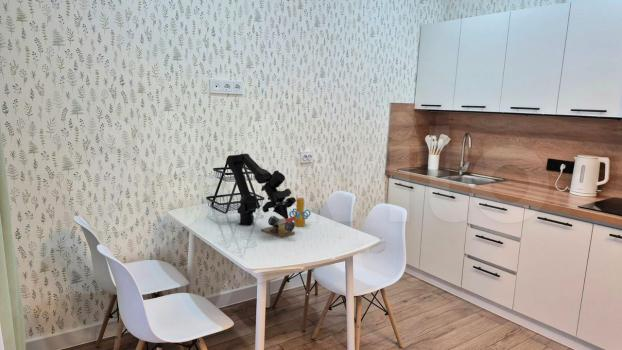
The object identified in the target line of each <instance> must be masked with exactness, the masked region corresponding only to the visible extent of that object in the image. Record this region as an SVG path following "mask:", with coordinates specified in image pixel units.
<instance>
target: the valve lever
mask: <svg viewBox="0 0 622 350" xmlns="http://www.w3.org/2000/svg"><path fill="white" fill-rule="evenodd" d="M293 216H294V215H293ZM293 216H292V217H290V216H289V217H288V219H285V221H282V222H281V221H279V222H277V225H278V226H280V225H282V224H283V223H288V222H291V221H292V222H294V220H296V218H295V216H294V217H293Z"/></svg>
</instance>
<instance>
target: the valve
mask: <svg viewBox="0 0 622 350" xmlns="http://www.w3.org/2000/svg"><path fill="white" fill-rule="evenodd" d="M279 221H281V222H282V221H285V218H284V217H283V218H280V217H277V216H274V215H271V216H269V218H268V227H264V228H261V230H260V231H261V232H263V233H266V234H268V235H269V234H270V235H272V236H275V237H278V238H281V239H285V238H287V237H291V236H294V235H295V234H296V231H295V232H294V229H295V227H296V226H295V225H294V221H291V222H288V223H283V224H282V225H280V226H278V225H277V222H279Z"/></svg>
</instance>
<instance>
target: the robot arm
mask: <svg viewBox="0 0 622 350" xmlns="http://www.w3.org/2000/svg"><path fill="white" fill-rule="evenodd" d="M225 161H226V164H227V166H228V168H229V169H230V170H231V171H232V172H233V175H234V178H235V181H236V185H237V187H238V190H239V193H240V201H239V204H240V205H239V207H237V209H236V210H237V214H240V215H239V223H238V225H239V226H240V225H241V226H251V225H253V224H254V223H255V218H254V217H255V215H254V213H256V210H257V207H258V201H257V198H256V196H255V195H252V194H251V192H250V190H249V186H248V183H247V179H246V177H245V173H244V170H243V166H246V167H247V169H248V170H249V171H250V172H251V173H252V174H253V177H254V179H255V181H256V182H257V184H259V185H260V184H261V185H262V184H263V185H262V186H261V190H260V191H261V192H263V191H265V193H266V195H267V200H268V201H266V202H265V203H264V204H263V206H262V207H261V209H262V212H263V213H264V214H265V213H269V211H270V209H272V208H273V210H272V212H273V213H276V214H277V215H279V216H280V217H283V218H285V219H288V218H289V213H288V208H290V207H292V206H293V205H294V204H295V203H297V199H296V198H295V197H294V196H291V194H292V191H291V189H290V188H285V189H284V190H282V191H281V190H278V188H279V187H281V185H282V184H283V183H284V182H285V180H286V177H285V175H284V174H283V173H282V172H280V171H279V170H274V171H273V173H271V172H270V171H268V170H267V169H265V168H263V167H261V166H260V165H259V164H258V163H256V161H255V160H254V159H252V158H251V156H250V154H249V153H240V154H231V155H228V156H227V157H226V160H225ZM290 196H291V197H290Z"/></svg>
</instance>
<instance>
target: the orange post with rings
mask: <svg viewBox="0 0 622 350" xmlns="http://www.w3.org/2000/svg"><path fill="white" fill-rule="evenodd" d="M304 206H305V198H304V197H297V198H296V208H295V207H294V208H292V210H290V211H289V213H288V217H289V218H290V217H294V216H295V218H296V220H294V221H293V222H294V225H295V226H294V227H298V228H300V227H301V228H302V227H305V226H306V220H307V219H308V218H309V217H310V216H311V210H309V209H305V207H304ZM291 214H292V215H293V216H292V215H291Z"/></svg>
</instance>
